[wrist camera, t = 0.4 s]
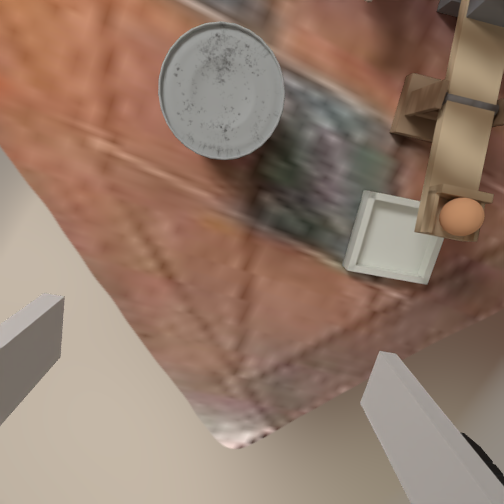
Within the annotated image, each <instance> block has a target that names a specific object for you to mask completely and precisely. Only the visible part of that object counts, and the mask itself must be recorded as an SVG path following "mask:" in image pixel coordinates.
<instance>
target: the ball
mask: <svg viewBox="0 0 504 504" xmlns="http://www.w3.org/2000/svg"><path fill="white" fill-rule="evenodd" d="M484 218H485V214H484V210H483V208H482V206H481V205H480V204H479V203H478V202H477V201H475V200H473V199H470V198H456V199H453V200H451V201H449V202H448V203H446V204H445V205H444V206H443V208H442V209H441V211H440V215H439V221H440V224H441V226H442V228H443V229H444V230H445V231H446V232H448V233H449V234H452V235H455V236H466V235H470V234H472V233H474V232H475V231H477V230H478V229H479V228H480V227H481V226H482V224H483V222H484Z"/></svg>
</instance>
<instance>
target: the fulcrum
mask: <svg viewBox="0 0 504 504" xmlns="http://www.w3.org/2000/svg"><path fill="white" fill-rule="evenodd" d="M449 82H450V81H448V80H440V79H436V78H432V77H428V76H424V75H420V74H416V73H412V74H410V75H408V76H406V79H405V82H404V86H403V89H402V93H401V96H400V99H399V103H398V106H397V110H396V113H395V116H394V120H393V123H392V127H391V130H390V133H394V134H398V135H403V136H407V137H412V138H416V139H420V140H425V141H429V142H433V137H434V132H435V127H436V122H437V117H438V112H439V109H441V106H442V103H443V100H444V97H445V94H446V91H447V88H448V85H449ZM497 104H498V105H499V111H498V113H497V114H496V115H495V116H494V118H493V123H492V127H495V126H503V125H504V99H500V100H497Z"/></svg>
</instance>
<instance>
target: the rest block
mask: <svg viewBox="0 0 504 504" xmlns="http://www.w3.org/2000/svg"><path fill="white" fill-rule="evenodd" d="M460 4H461V0H440V2H439V5H438V9H437V12H441V13H444V14H448V15H452V16H455V17H458V14H459V9H460Z"/></svg>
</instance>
